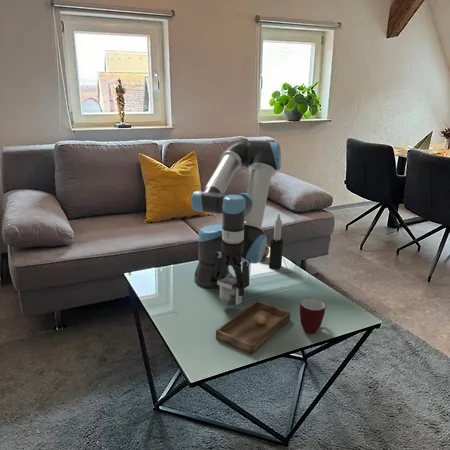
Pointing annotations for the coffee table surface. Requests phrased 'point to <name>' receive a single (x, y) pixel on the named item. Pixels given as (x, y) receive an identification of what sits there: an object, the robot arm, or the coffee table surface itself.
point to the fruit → (266, 252)
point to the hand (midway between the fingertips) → (230, 299)
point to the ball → (261, 320)
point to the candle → (276, 246)
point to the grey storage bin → (228, 289)
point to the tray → (252, 327)
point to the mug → (311, 314)
